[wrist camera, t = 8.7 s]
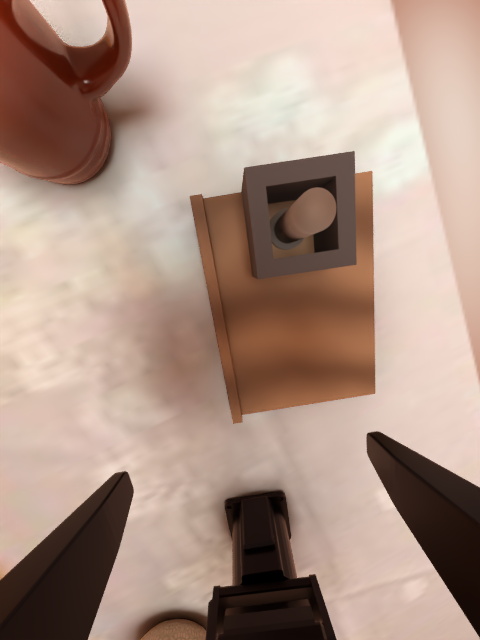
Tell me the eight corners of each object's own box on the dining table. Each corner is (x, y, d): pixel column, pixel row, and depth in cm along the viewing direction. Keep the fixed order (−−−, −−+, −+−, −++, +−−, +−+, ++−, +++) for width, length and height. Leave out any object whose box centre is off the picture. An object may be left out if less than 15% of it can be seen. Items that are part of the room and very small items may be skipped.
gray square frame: (328, 265, 17) (356, 264, 13) (252, 276, 17) (258, 279, 13) (324, 179, 16) (354, 151, 12) (241, 191, 16) (244, 167, 12)
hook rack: (367, 386, 21) (433, 445, 14) (233, 407, 21) (233, 476, 14) (362, 177, 17) (453, 115, 10) (195, 204, 17) (169, 162, 10)
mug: (31, 212, 17) (-258, 134, 7) (-25, 72, 15) (-554, -328, 5) (186, 177, 17) (117, 45, 7) (150, 30, 15) (-25, -477, 5)
